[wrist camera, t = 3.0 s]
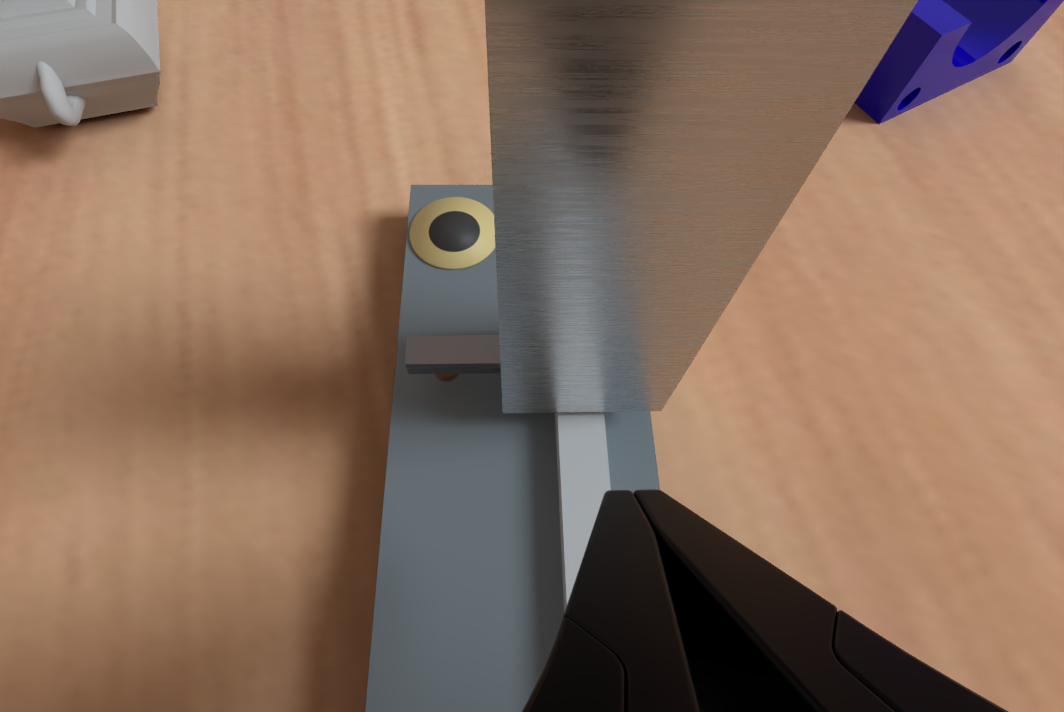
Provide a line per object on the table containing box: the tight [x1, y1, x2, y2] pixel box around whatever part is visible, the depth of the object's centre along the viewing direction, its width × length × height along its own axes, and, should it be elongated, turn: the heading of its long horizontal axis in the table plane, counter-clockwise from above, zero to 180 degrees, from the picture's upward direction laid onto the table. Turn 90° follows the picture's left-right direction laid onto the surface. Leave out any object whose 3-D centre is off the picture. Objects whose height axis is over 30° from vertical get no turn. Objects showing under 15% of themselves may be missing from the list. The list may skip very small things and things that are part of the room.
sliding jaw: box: [405, 0, 918, 413], centre depth 10 cm, size 3×6×13 cm, turn 92°
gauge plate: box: [365, 185, 660, 712], centre depth 15 cm, size 20×7×3 cm, turn 2°
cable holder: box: [854, 0, 1064, 124], centre depth 23 cm, size 8×4×4 cm, turn 120°
